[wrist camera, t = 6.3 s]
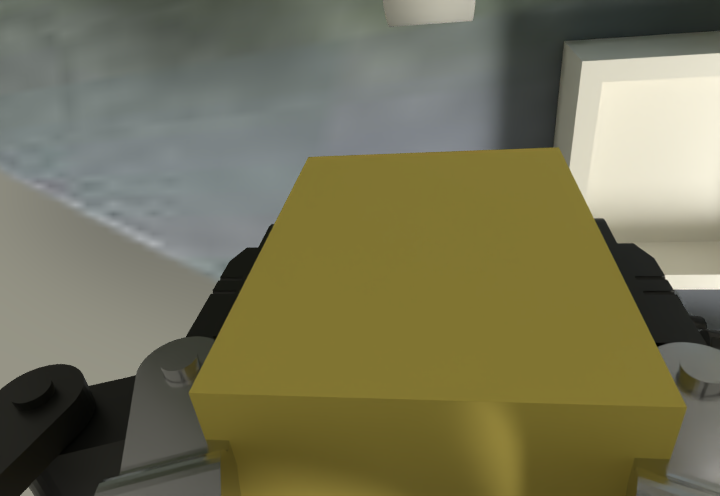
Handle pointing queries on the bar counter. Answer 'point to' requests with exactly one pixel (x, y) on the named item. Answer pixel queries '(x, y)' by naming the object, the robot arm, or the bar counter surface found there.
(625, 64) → the tray
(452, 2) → the trolley
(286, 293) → the block
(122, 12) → the bar counter surface
